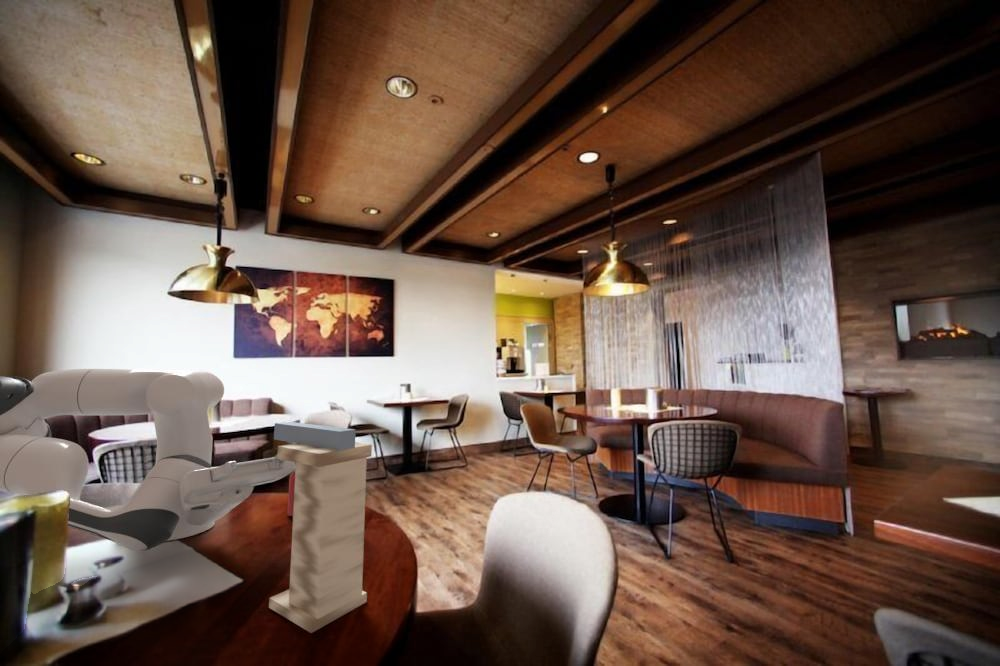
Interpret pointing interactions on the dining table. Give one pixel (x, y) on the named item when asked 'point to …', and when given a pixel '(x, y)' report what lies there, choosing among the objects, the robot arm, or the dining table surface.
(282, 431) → the block
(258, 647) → the dining table surface
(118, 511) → the robot arm
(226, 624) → the dining table surface
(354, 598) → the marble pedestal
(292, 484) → the beer can
